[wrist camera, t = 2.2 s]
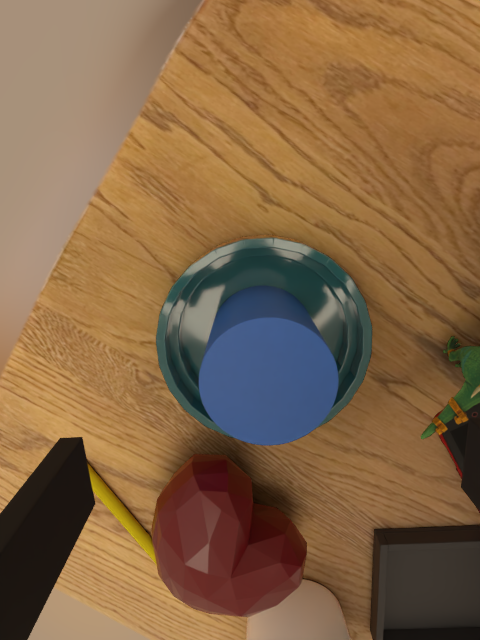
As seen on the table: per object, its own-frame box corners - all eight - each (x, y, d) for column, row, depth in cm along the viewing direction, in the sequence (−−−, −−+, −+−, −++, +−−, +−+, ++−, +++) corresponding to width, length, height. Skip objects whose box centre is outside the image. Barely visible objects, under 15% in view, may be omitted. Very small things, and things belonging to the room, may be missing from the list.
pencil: (195, 585, 34) (193, 596, 33) (185, 589, 34) (184, 600, 33) (76, 445, 31) (70, 452, 30) (66, 450, 31) (60, 458, 30)
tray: (513, 523, 32) (526, 539, 30) (497, 626, 35) (508, 646, 33) (373, 529, 32) (380, 545, 31) (370, 630, 35) (375, 649, 34)
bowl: (361, 228, 26) (375, 231, 23) (357, 414, 29) (369, 437, 26) (154, 241, 26) (143, 245, 23) (176, 423, 30) (169, 446, 27)
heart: (219, 590, 33) (309, 518, 33) (221, 691, 25) (339, 600, 25) (120, 495, 31) (215, 417, 30) (91, 575, 23) (216, 472, 23)
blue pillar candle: (312, 282, 26) (339, 313, 18) (313, 378, 28) (338, 442, 20) (207, 288, 26) (192, 321, 19) (215, 383, 28) (204, 448, 21)
